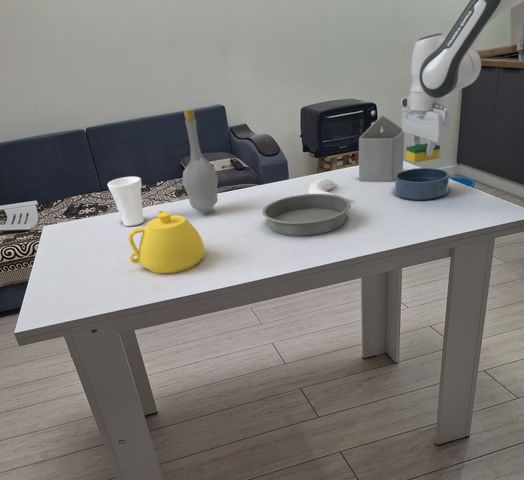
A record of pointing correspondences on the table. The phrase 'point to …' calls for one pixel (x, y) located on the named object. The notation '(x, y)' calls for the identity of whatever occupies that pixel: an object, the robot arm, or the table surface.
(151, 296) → the table surface
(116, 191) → the cup
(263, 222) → the table surface
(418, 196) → the bowl
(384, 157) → the planter
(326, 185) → the white rounded piece
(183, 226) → the teapot
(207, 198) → the bottle
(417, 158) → the sponge
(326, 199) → the cake pan
